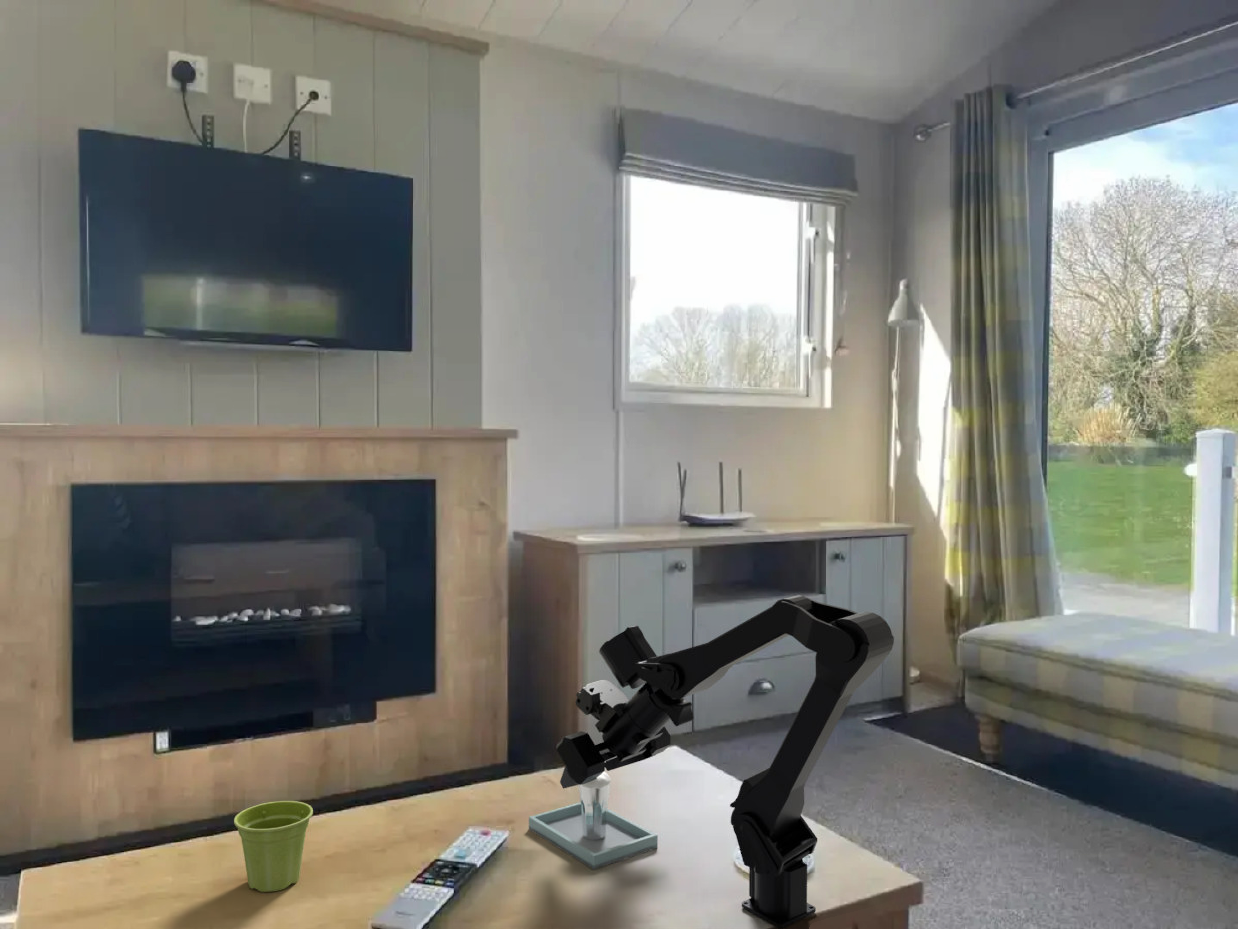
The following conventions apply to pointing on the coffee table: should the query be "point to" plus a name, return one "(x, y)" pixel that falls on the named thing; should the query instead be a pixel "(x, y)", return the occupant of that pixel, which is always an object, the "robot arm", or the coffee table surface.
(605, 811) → the milkshake
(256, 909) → the coffee table surface
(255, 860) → the plant pot
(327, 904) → the coffee table surface
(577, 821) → the tray
